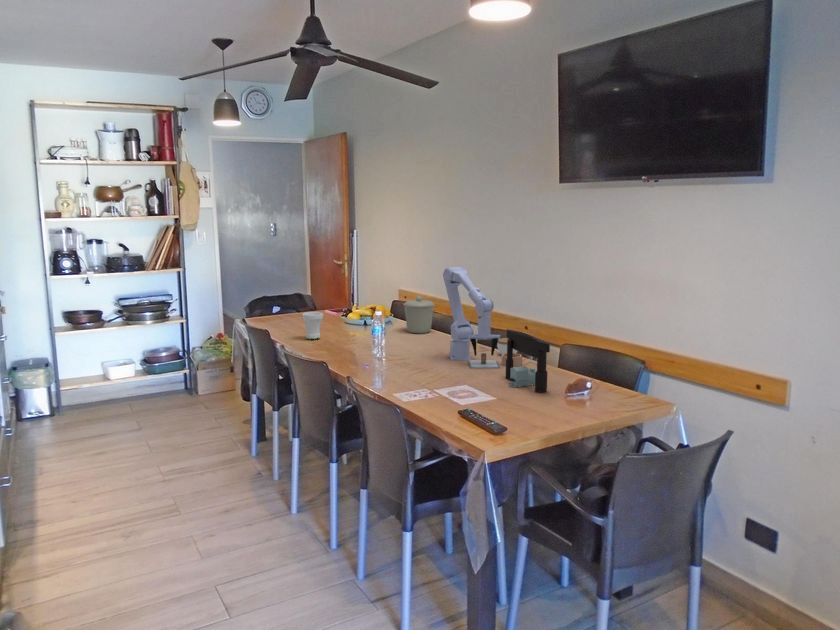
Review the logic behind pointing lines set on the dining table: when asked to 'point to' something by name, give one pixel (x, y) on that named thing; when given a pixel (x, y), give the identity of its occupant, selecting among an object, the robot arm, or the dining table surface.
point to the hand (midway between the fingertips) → (483, 355)
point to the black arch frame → (531, 348)
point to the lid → (483, 362)
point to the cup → (312, 324)
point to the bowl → (516, 358)
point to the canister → (419, 315)
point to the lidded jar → (503, 346)
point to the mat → (480, 368)
